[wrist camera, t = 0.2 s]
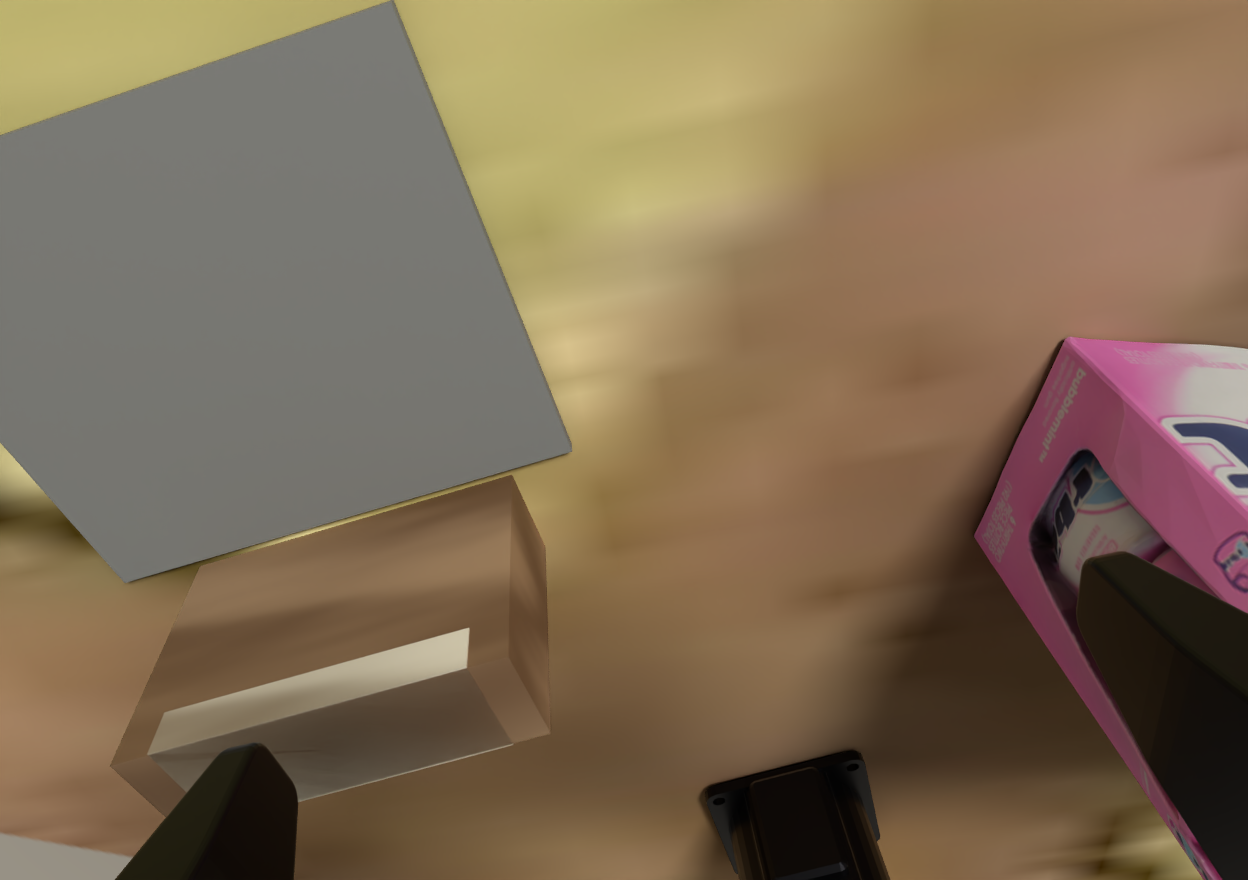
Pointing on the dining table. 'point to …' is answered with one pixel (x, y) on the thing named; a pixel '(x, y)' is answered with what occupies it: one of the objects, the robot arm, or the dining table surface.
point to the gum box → (1125, 501)
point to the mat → (256, 303)
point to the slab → (355, 650)
